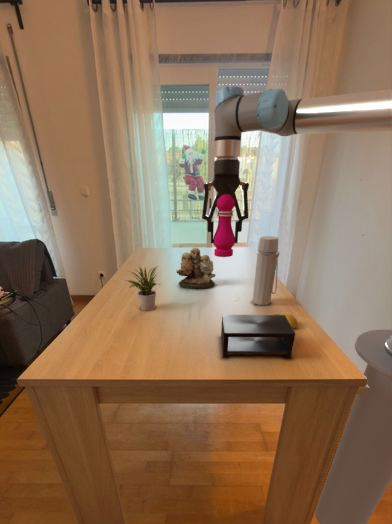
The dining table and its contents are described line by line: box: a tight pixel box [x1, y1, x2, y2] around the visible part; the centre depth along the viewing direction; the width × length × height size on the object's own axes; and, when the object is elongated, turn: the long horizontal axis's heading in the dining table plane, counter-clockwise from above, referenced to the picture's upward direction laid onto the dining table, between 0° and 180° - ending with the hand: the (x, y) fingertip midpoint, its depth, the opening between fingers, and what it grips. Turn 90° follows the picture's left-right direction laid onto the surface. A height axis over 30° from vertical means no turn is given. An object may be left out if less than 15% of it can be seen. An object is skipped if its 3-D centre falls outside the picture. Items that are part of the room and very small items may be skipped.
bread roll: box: [274, 313, 298, 329], centre depth 97 cm, size 8×9×4 cm
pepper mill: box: [212, 194, 236, 258], centre depth 91 cm, size 7×7×20 cm
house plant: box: [124, 265, 162, 311], centre depth 108 cm, size 14×14×16 cm
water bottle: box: [252, 235, 281, 306], centre depth 108 cm, size 9×8×25 cm
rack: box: [220, 314, 296, 360], centre depth 83 cm, size 19×12×8 cm, turn 88°
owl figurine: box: [176, 247, 216, 290], centre depth 130 cm, size 18×12×17 cm, turn 95°
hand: (224, 242), depth 94 cm, fingers closed on pepper mill, 7 cm apart
